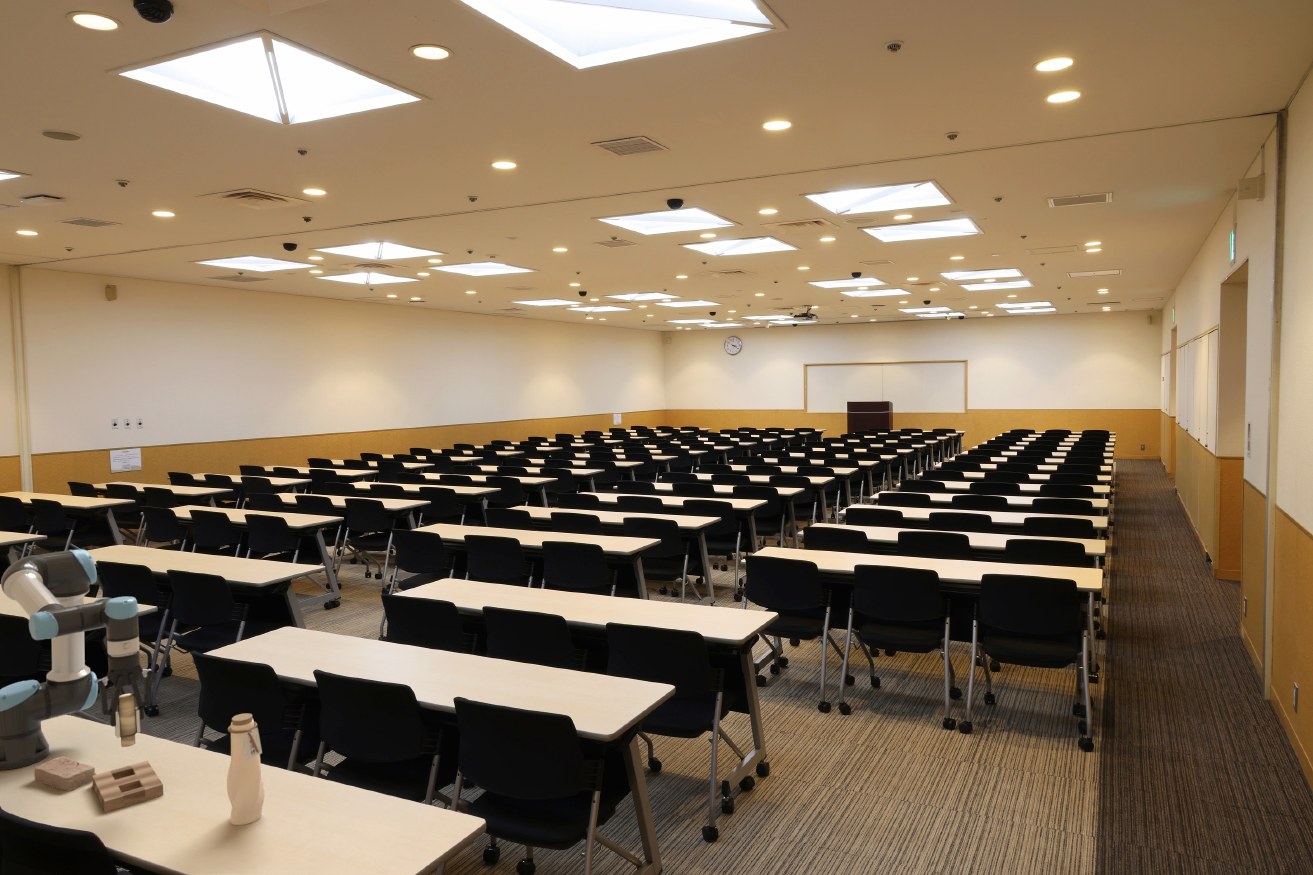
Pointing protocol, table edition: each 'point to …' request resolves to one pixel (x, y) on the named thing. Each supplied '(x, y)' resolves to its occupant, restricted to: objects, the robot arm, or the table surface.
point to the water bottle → (245, 771)
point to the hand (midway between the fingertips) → (127, 733)
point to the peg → (127, 719)
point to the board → (127, 785)
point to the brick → (64, 773)
